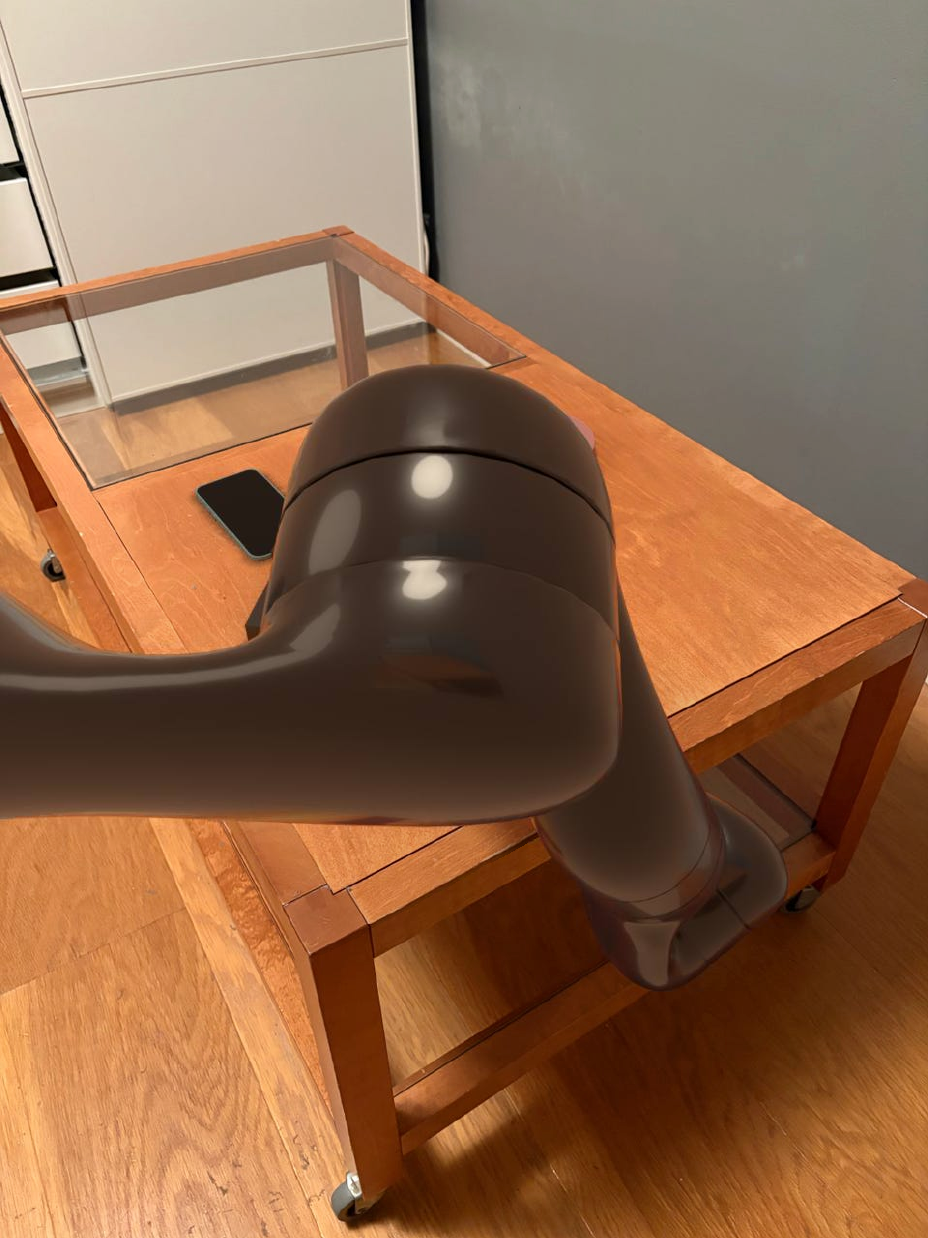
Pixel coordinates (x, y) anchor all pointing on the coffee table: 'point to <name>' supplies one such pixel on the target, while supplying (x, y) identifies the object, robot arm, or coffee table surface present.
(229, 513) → the smartphone
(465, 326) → the coffee table surface
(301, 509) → the robot arm
